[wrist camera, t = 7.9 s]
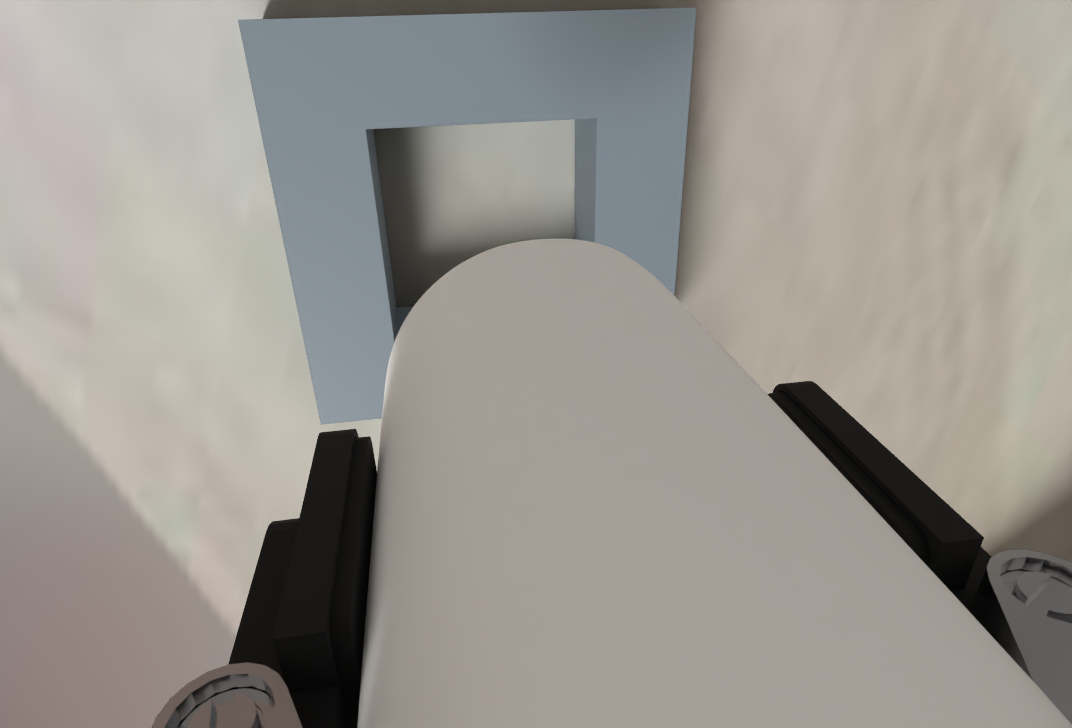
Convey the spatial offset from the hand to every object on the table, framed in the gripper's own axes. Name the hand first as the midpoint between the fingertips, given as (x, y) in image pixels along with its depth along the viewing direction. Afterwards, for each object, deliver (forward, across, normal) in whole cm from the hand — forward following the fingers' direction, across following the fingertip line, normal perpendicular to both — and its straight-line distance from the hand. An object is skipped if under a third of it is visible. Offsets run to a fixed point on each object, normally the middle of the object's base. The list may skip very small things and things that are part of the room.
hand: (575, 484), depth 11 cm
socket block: (+18, 0, 0) cm, 18 cm away
